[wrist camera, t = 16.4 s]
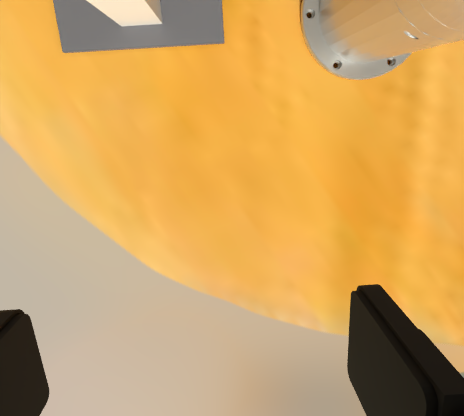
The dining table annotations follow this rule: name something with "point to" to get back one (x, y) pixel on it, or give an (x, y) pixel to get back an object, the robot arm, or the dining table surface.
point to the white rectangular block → (131, 11)
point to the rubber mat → (139, 26)
